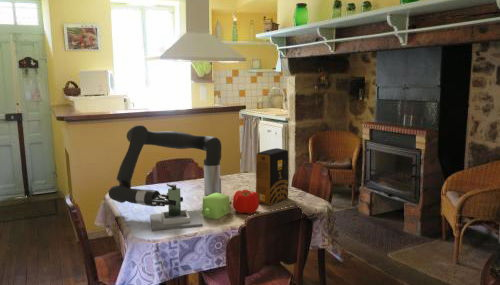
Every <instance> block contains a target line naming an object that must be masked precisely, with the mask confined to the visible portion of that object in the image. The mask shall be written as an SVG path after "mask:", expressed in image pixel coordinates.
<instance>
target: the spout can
mask: <svg viewBox="0 0 500 285" xmlns="http://www.w3.org/2000/svg"><path fill="white" fill-rule="evenodd" d="M166 186H167V187H170V188H167V193H168V200H175V201H176V205H175V206H173V205H167V206H168V207H167V208H168V211H169V216H179V215H181V210H182V208H181V207H182V206H181V205H182V202H181V197H182V196H181V188H180V187H177V184H169V183H167V184H166Z"/></svg>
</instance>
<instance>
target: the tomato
mask: <svg viewBox="0 0 500 285" xmlns="http://www.w3.org/2000/svg"><path fill="white" fill-rule="evenodd" d="M232 206H233V209H234V210H235V212H238V213H239V214H248V215H249V214H250V215H251V214H254V213H256V211H257V210H258V209H259V207H260V203H259V197H258V194H257V193H256V191H251V190H248V189H242V190H237V191H235V193H234V194H233V197H232Z"/></svg>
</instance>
